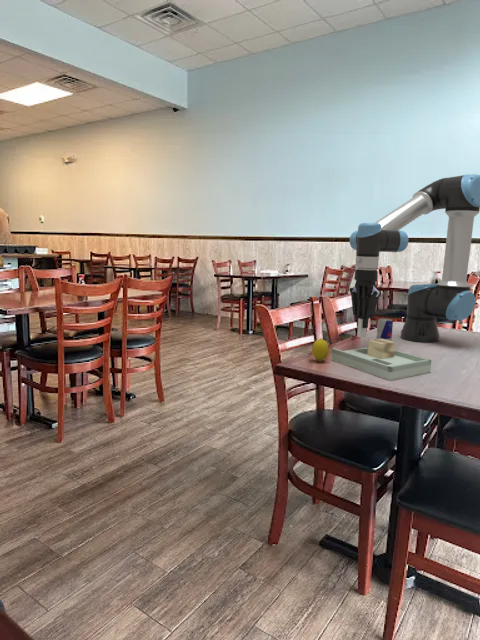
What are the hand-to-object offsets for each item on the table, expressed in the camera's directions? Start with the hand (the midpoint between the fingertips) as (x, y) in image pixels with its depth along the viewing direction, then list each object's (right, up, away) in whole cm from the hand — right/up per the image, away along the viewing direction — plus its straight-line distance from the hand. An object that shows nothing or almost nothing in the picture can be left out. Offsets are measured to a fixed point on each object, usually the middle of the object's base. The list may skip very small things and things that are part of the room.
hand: (361, 336), depth 157 cm
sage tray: (+3, -9, -9) cm, 13 cm away
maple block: (+5, -6, -7) cm, 10 cm away
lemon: (-16, -8, -5) cm, 18 cm away
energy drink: (+11, -6, +10) cm, 16 cm away
